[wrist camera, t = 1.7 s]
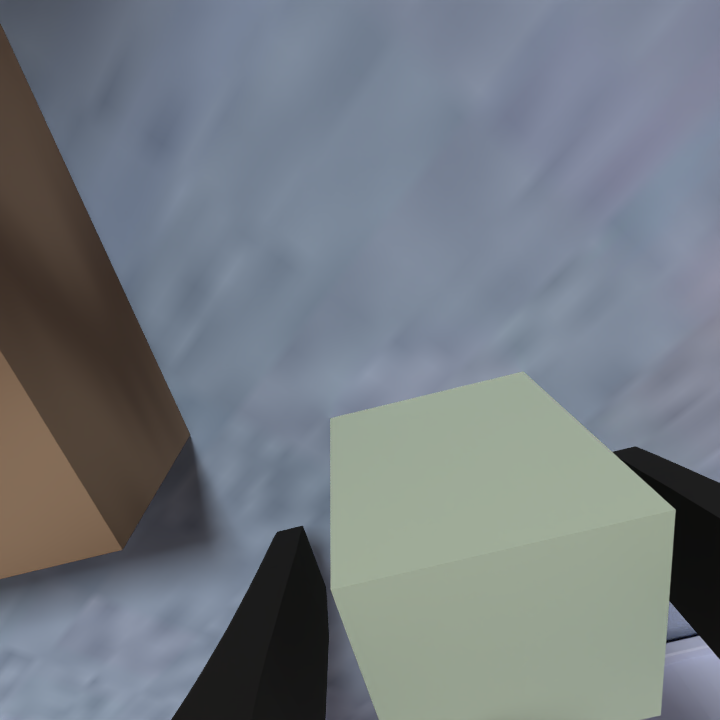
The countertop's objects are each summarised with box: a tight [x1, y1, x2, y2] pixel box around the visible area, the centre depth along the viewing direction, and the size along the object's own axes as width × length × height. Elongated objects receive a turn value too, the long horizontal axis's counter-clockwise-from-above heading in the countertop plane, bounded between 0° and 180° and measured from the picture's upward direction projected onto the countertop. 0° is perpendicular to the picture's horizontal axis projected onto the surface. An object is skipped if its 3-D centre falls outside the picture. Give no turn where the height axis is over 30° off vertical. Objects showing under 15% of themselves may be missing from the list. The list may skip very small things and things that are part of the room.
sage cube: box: [330, 372, 676, 720], centre depth 9 cm, size 5×5×5 cm
